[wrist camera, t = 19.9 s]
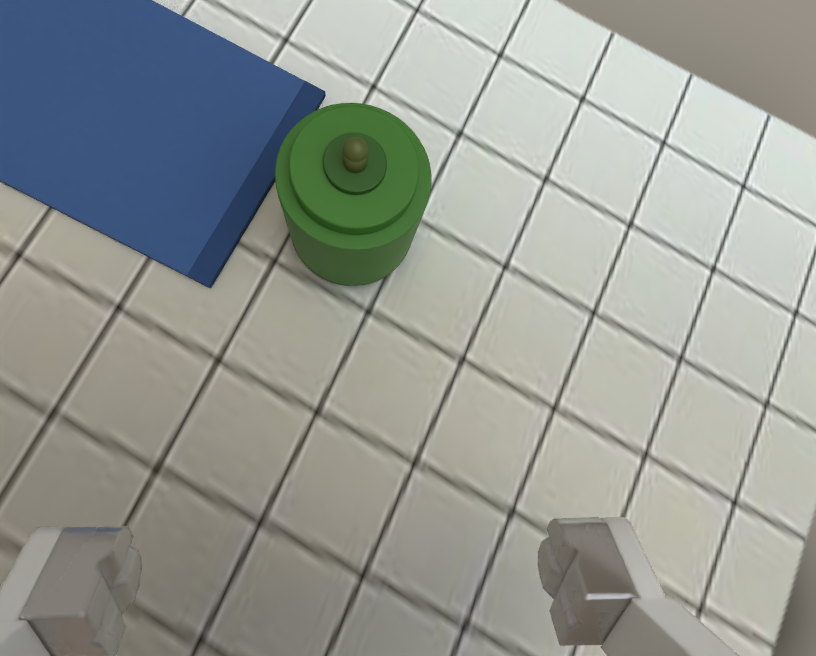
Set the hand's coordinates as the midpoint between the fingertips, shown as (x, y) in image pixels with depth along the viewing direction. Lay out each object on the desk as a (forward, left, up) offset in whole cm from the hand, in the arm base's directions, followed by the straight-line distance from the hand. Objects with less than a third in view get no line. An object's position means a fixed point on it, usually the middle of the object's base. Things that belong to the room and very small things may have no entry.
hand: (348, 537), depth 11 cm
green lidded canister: (-5, +11, -16) cm, 19 cm away
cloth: (-20, +11, -16) cm, 27 cm away
